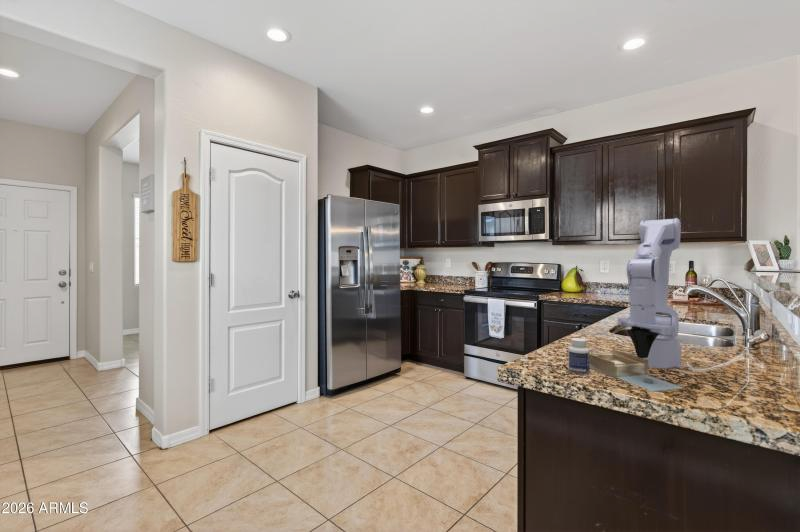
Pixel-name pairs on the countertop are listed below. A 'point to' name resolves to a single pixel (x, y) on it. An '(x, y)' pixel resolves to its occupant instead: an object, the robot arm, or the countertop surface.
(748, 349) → the countertop surface
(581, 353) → the pill bottle
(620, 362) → the soap bar
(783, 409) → the countertop surface
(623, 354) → the box
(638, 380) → the lid
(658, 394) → the countertop surface
